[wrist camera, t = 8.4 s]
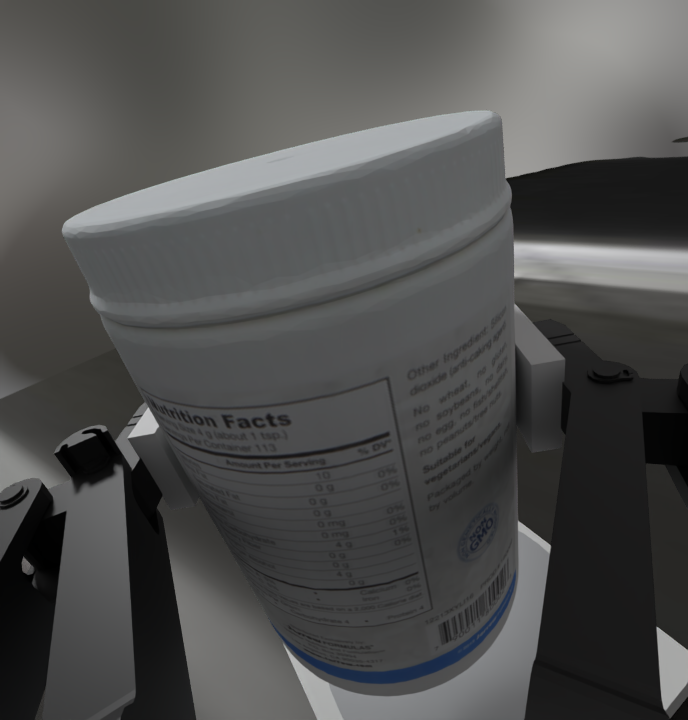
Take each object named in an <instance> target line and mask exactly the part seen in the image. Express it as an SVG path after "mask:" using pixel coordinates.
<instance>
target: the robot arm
mask: <svg viewBox="0 0 688 720" xmlns="http://www.w3.org/2000/svg"><path fill="white" fill-rule="evenodd" d="M514 318H515V370H516V425H517V427H518V429H519V430H520V432H521V434H522V436H523V438H524V439H525V441H526V443H527V445H528V446H529V448H530V450H531V452H538V451H544V450H551V449H557V448H562V431H563V432H564V434H565V435H566V437H565V444H564V452H563V459H562V467H561V474H560V482H559V489H558V496H557V504H556V511H555V519H554V526H553V534H552V541H551V549H550V556H549V564H548V571H547V579H546V586H545V594H544V601H543V608H542V616H541V623H540V631H539V638H538V646H537V652H536V657H535V660H534V662H533V666H532V671H531V676H530V683H529V689H528V696H527V703H526V710H525V718H524V720H670V718H669V716H668V714H667V713H666V711H665V710H664V708H663V703H662V697H661V686H660V671H659V656H658V641H657V627H656V612H655V597H654V582H653V568H652V553H651V538H650V523H649V508H648V494H647V479H646V464H645V463H649V464H662V465H665V466H666V468H667V470H668V472H669V474H670V476H671V478H672V480H673V482H674V484H675V486H676V488H677V490H678V492H679V493H680V495H681V497H682V499H683V501H684V503H685V505H686V507H687V509H688V364H686V365H684V366H683V368H682V369H681V371H680V375H679V379H645V378H639V376H638V373H637V372H636V371H635V370H634V369H632V368H631V367H629V366H627V365H624V364H621V363H618V362H611V361H603V360H602V359H601V358H600V357H598V356H597V355H596V354H595V353H594V352H593V351H592V350H591V349H590V348H589V347H588V346H587V345H586V344H585V343H584V342H581V340H580V339H579V338H578V337H577V336H576V335H574V333H573V332H572V331H571V330H570V329H569V328H568V327H567V326H566V325H564V324H561V323H559V322H556V321H554V320H551V319H549V320H543V321H538V322H533V323H532V322H531V321H530V320H529V319H528V318H527V317H526V316H525V314H524V313H523V312H522V311H521V310H520V309H519V308H518V307H517V306H516V305H515V303H514ZM54 454H55V456H56V457H57V458H58V460H59V461H60V463H61V464H62V465H63V467H64V468H65V469H66V471H67V472H68V473H69V475H70V476H71V480H70V481H68V482H65V483H63V484H60V485H57V486H55V487H52V488H50V489H47V488H46V487H45V485H44V484H43V483H42V482H41V480H40V479H37V478H31V479H26V480H23V481H20V482H18V483H14V484H12V485H10V487H7V488H6V489H4V490H3V491H2V492H1V493H0V720H34V719H35V716H36V713H37V710H38V707H39V705H40V702H41V699H42V696H43V693H44V690H45V687H46V690H45V699H44V707H43V715H42V720H196V715H195V709H194V703H193V697H192V691H191V685H190V679H189V673H188V667H187V661H186V655H185V649H184V643H183V637H182V631H181V625H180V619H179V613H178V607H177V601H176V595H175V589H174V583H173V577H172V571H171V565H170V559H169V553H168V547H167V541H166V535H165V529H164V523H163V518H162V516H161V514H160V512H159V511H158V509H157V506H158V504H159V501H160V499H161V497H162V496H163V498H164V500H165V501H166V503H167V505H168V506H169V508H170V509H171V510H174V509H180V508H186V507H192V506H196V503H197V501H198V498H199V496H198V494H197V492H196V490H195V489H194V487H193V485H192V483H191V482H190V480H189V478H188V476H187V474H186V473H185V471H184V469H183V467H182V466H181V464H180V462H179V460H178V459H177V457H176V455H175V453H174V452H173V450H172V448H171V446H170V444H169V443H168V441H167V439H166V437H165V436H164V434H163V432H162V430H161V429H160V427H159V425H158V423H157V422H156V420H155V418H154V416H153V414H152V413H151V411H150V409H149V407H148V406H147V404H146V402H145V403H144V404H142V405H141V406H140V407H139V409H138V410H137V412H136V413H135V414H134V416H133V418H132V419H131V420H130V421H129V423H128V424H127V427H125V428H124V430H123V431H122V433H121V434H120V436H119V437H118V438H117V440H116V441H114V439H113V438H112V436H111V434H110V433H109V431H108V430H107V428H106V427H105V426H101V425H98V426H91V427H88V428H85V429H82V430H80V431H78V432H76V433H74V434H73V435H71V436H70V437H68V438H67V439H65V440H64V441H63V442H62V443H61V444H60V445H59V446H58V447H57V448H56V450H55V452H54ZM23 556H24V557H25V559H26V560H27V561H28V562H29V563H30V564H31V567H30V569H29V571H28V573H27V574H25V573H23V571H22V564H21V563H22V559H23Z"/></svg>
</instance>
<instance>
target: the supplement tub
mask: <svg viewBox="0 0 688 720" xmlns="http://www.w3.org/2000/svg"><path fill="white" fill-rule="evenodd" d="M511 198H512V193H511V188H510V185H509V184H508V183H507V181H506V180H505V165H504V147H503V132H502V120H501V117H500V116H499V115H498V114H496V113H494V112H491V111H488V110H485V111H468V112H460V113H453V114H445V115H439V116H433V117H428V118H422V119H416V120H411V121H406V122H401V123H396V124H391V125H386V126H382V127H377V128H372V129H367V130H363V131H359V132H354V133H350V134H345V135H341V136H337V137H333V138H328V139H324V140H320V141H316V142H312V143H308V144H304V145H300V146H296V147H292V148H288V149H284V150H280V151H277V152H273V153H269V154H266V155H261V156H258V157H254V158H250V159H246V160H242V161H238V162H235V163H231V164H227V165H224V166H220V167H217V168H213V169H210V170H206V171H203V172H199V173H196V174H192V175H189V176H185V177H182V178H179V179H175V180H172V181H169V182H165V183H162V184H159V185H156V186H152V187H149V188H146V189H143V190H140V191H137V192H134V193H131V194H128V195H125V196H122V197H119V198H117V199H114V200H111V201H109V202H106V203H103V204H101V205H98V206H95V207H93V208H91V209H89V210H86V211H84V212H82V213H79V214H77V215H75V216H74V217H72V218H70V219H69V220H67V221H66V222H65V223H64V225H63V229H62V234H63V236H64V239H65V241H66V242H67V244H68V246H69V248H70V250H71V252H72V254H73V256H74V258H75V260H76V262H77V264H78V266H79V268H80V269H81V271H82V273H83V275H84V277H85V279H86V281H87V283H88V285H89V288H90V301H91V303H92V305H93V307H94V309H95V310H96V311H97V312H98V313H99V314H101V319H102V323H103V325H104V327H105V329H106V331H107V333H108V335H109V336H110V338H111V340H112V342H113V344H114V346H115V347H116V349H117V351H118V353H119V355H120V356H121V358H122V360H123V362H124V364H125V366H126V368H127V370H128V371H129V373H130V375H131V377H132V379H133V381H134V383H135V384H136V386H137V388H138V390H139V392H140V393H141V395H142V397H143V399H144V400H145V402H146V404H147V406H148V407H149V409H150V411H151V413H152V414H153V416H154V418H155V420H156V422H157V423H158V425H159V427H160V429H161V430H162V432H163V434H164V436H165V437H166V439H167V441H168V443H169V444H170V446H171V448H172V450H173V452H174V453H175V455H176V457H177V459H178V460H179V462H180V464H181V466H182V467H183V469H184V471H185V473H186V474H187V476H188V478H189V480H190V482H191V483H192V485H193V487H194V489H195V490H196V492H197V494H198V496H199V497H200V499H201V501H202V503H203V504H204V506H205V508H206V510H207V511H208V513H209V515H210V517H211V518H212V520H213V522H214V524H215V525H216V527H217V529H218V531H219V532H220V534H221V536H222V538H223V539H224V541H225V543H226V545H227V547H228V548H229V550H230V552H231V554H232V555H233V557H234V559H235V561H236V562H237V564H238V566H239V568H240V569H241V571H242V573H243V575H244V576H245V578H246V580H247V582H248V583H249V585H250V587H251V589H252V591H253V592H254V594H255V596H256V598H257V599H258V601H259V603H260V605H261V607H262V608H263V610H264V612H265V614H266V615H267V617H268V619H269V620H270V622H271V624H272V625H273V627H274V629H275V630H276V632H277V633H278V635H279V637H280V639H281V640H282V642H283V644H284V645H285V646H286V648H287V649H288V650H289V652H290V653H291V654H292V655H293V656H294V657H295V658H296V659H297V660H298V661H299V662H300V663H301V664H302V665H303V666H304V667H305V668H307V669H308V670H309V671H310V672H312V673H313V674H314V675H316V676H317V677H319V678H320V679H322V680H324V681H326V682H328V683H330V684H332V685H334V686H336V687H339V688H341V689H344V690H346V691H350V692H354V693H358V694H363V695H370V696H387V697H388V696H401V695H408V694H414V693H418V692H423V691H426V690H428V689H431V688H434V687H436V686H439V685H441V684H444V683H446V682H448V681H449V680H451V679H453V678H455V677H456V676H458V675H460V674H461V673H463V672H464V671H466V670H467V669H469V668H470V667H471V666H472V665H473V664H474V663H475V662H477V661H478V660H479V659H480V658H481V657H482V656H483V655H484V654H485V653H486V651H487V650H488V649H489V648H490V647H491V646H492V644H493V643H494V641H495V640H496V638H497V637H498V635H499V634H500V632H501V631H502V629H503V627H504V625H505V623H506V621H507V619H508V617H509V614H510V611H511V608H512V606H513V602H514V599H515V595H516V591H517V584H518V573H519V556H518V492H517V429H516V370H515V318H514V244H513V218H512V212H511V209H510V204H511Z"/></svg>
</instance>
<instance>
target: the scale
mask: <svg viewBox="0 0 688 720" xmlns="http://www.w3.org/2000/svg"><path fill="white" fill-rule="evenodd" d="M550 549H551V545H549V544H548V543H547V542H545V541H544V540H543V539H541V538H540V537H539V536H537V535H536V534H535V533H534V532H532V531H531V530H530V529H528V528H527V527H526V526H524V525H523V524H522V523H520V522H519V521H518V556H519V573H518V584H517V591H516V595H515V599H514V602H513V606H512V608H511V611H510V614H509V617H508V619H507V621H506V623H505V625H504V627H503V629H502V631H501V632H500V634H499V635H498V637H497V638H496V640H495V641H494V643H493V644H492V646H491V647H490V648H489V649H488V650H487V651H486V653H485V654H484V655H483V656H482V657H481V658H480V659H479V660H478V661H477V662H475V663H474V664H473V665H472V666H471V667H470V668H469V669H467V670H466V671H464V672H463V673H461V674H460V675H458V676H456V677H455V678H453V679H451V680H449V681H448V682H446V683H444V684H441V685H439V686H436V687H434V688H431V689H428V690H426V691H423V692H418V693H414V694H408V695H401V696H388V697H387V696H370V695H363V694H358V693H354V692H350V691H346V690H344V689H341V688H339V687H336V686H334V685H332V684H330V683H328V682H326V681H324V680H322V679H320V678H319V677H317V676H316V675H314V674H313V673H312V672H310V671H309V670H308V669H307V668H305V667H304V666H303V665H302V664H301V663H300V662H299V661H298V660H297V659H296V658H295V657H294V656H293V655H292V654H291V653H290V652H289V650H288V649H287V648H286V646H285V645H284V646H285V649H286V651H287V653H288V655H289V657H290V660H291V662H292V664H293V666H294V669H295V671H296V673H297V675H298V677H299V680H300V682H301V684H302V686H303V689H304V691H305V693H306V695H307V697H308V700H309V702H310V704H311V706H312V708H313V711H314V713H315V715H316V717H317V720H524V718H525V710H526V703H527V696H528V689H529V683H530V676H531V671H532V666H533V662H534V660H535V657H536V652H537V646H538V638H539V631H540V623H541V616H542V608H543V601H544V594H545V586H546V579H547V571H548V564H549V556H550ZM656 627H657V626H656ZM657 641H658V656H659V671H660V686H661V697H662V703H663V708H664V710H665V711H666V713H667V714H668V716H669V718H671V717H672V716H673V715H674V713H675V712H676V711H677V709H678V708H679V707H680V706H681V704H682V703H683V702H684V701H685V699H686V698H687V697H688V650H687V649H685V648H684V647H683V646H681V645H680V644H679V643H677V642H676V641H675V640H674V639H672V638H671V637H670V636H668V635H667V634H666V633H664V632H663V631H662V630H660V629H659V628H658V627H657Z"/></svg>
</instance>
